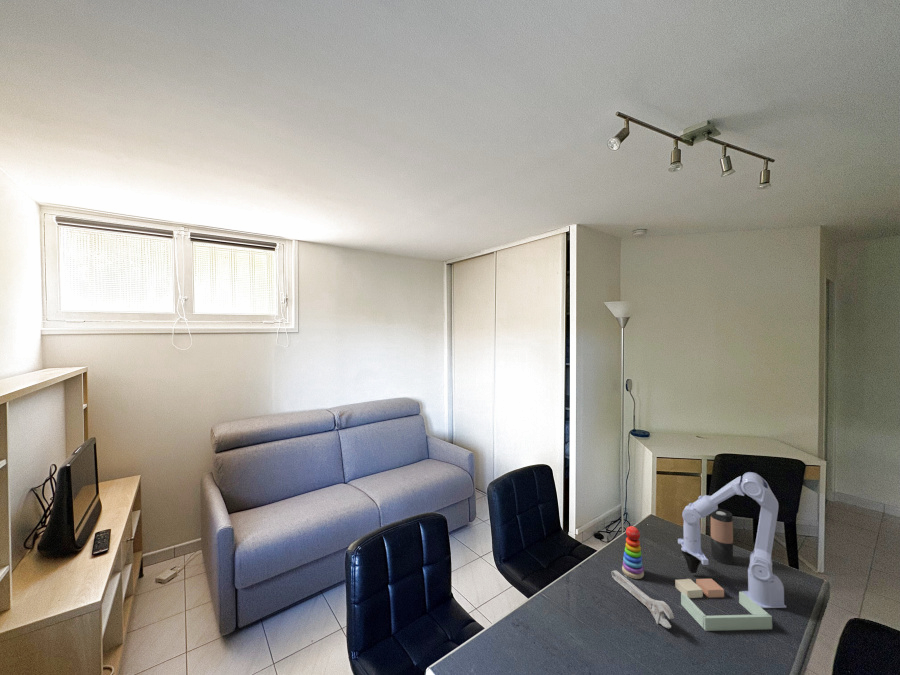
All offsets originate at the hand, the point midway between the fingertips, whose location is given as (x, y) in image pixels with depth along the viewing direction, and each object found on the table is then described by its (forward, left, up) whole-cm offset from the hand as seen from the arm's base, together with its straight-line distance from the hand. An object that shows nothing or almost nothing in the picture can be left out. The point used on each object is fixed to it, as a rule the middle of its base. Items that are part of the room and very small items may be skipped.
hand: (692, 571), depth 140 cm
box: (+4, +20, -1) cm, 21 cm away
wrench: (+29, +14, -2) cm, 33 cm away
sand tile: (+8, +9, -2) cm, 12 cm away
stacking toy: (+23, -2, -2) cm, 23 cm away
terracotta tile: (0, +9, -2) cm, 9 cm away
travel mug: (-20, -10, -2) cm, 22 cm away
